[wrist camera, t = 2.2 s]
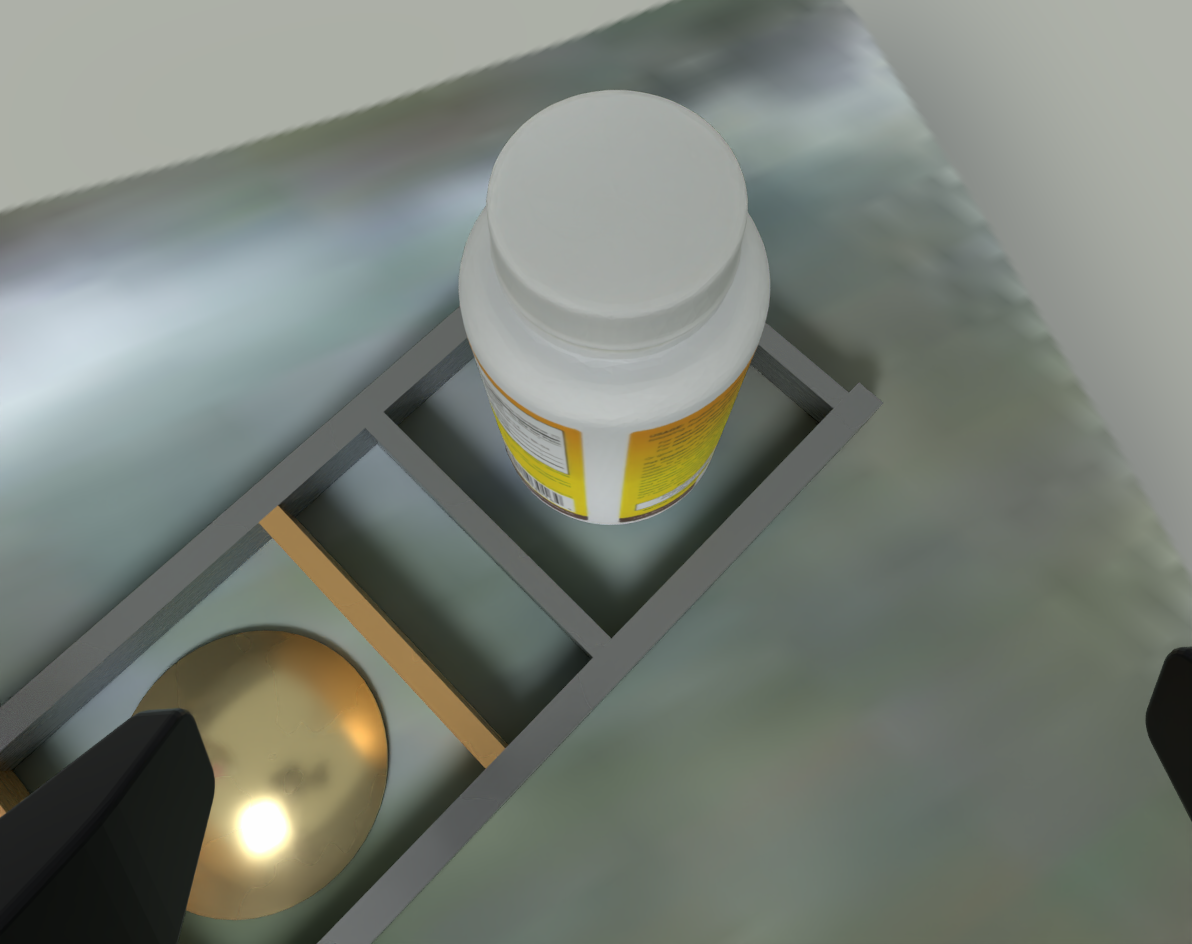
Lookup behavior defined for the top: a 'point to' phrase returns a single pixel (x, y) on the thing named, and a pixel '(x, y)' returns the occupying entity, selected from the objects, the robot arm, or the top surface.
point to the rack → (334, 687)
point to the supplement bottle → (614, 301)
